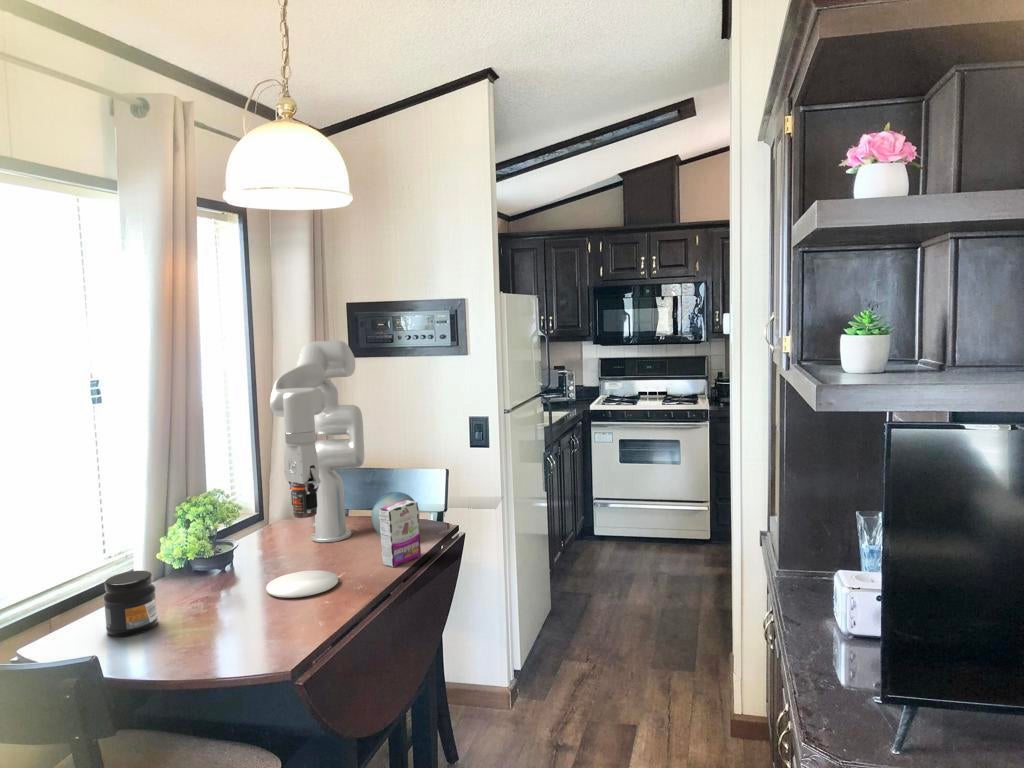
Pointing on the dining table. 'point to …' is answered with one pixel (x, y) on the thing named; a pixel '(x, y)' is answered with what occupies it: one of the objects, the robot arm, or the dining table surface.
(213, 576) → the dining table surface
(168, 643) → the dining table surface
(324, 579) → the dish
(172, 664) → the dining table surface
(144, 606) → the supplement container
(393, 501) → the decorative ball
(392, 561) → the candy bar box
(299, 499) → the supplement bottle
